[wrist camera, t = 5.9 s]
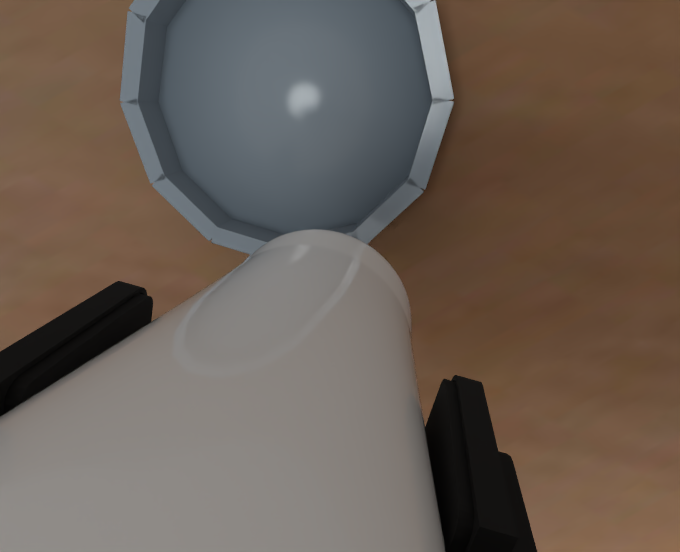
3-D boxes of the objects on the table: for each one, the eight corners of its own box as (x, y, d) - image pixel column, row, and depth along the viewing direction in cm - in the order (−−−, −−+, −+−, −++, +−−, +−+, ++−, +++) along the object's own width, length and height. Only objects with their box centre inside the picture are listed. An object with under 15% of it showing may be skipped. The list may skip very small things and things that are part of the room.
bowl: (493, -29, 24) (502, -46, 22) (393, 279, 30) (390, 297, 28) (172, -113, 25) (140, -139, 23) (137, 201, 32) (109, 211, 29)
